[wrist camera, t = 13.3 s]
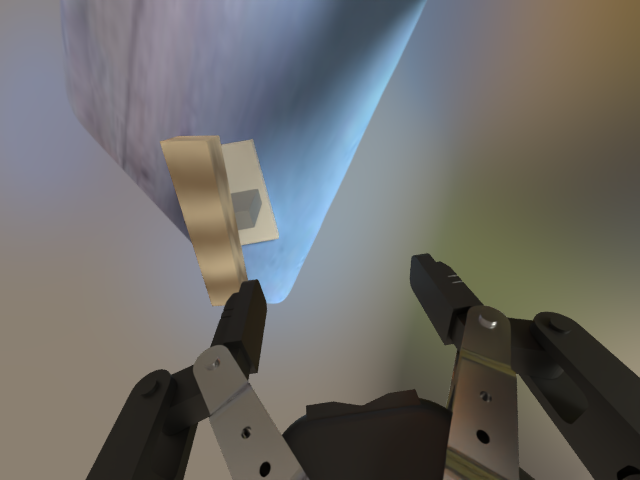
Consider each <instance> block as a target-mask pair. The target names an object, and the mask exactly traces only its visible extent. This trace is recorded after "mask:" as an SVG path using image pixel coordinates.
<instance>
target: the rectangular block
mask: <svg viewBox="0 0 640 480" xmlns="http://www.w3.org/2000/svg"><path fill="white" fill-rule="evenodd" d="M160 144H161V147H162V150H163V153H164V156H165V160H166V163H167V166H168V169H169V172H170V175H171V178H172V181H173V185H174V188H175V191H176V194H177V197H178V200H179V203H180V207H181V210H182V213H183V216H184V219H185V222H186V225H187V229H188V232H189V235H190V238H191V241H192V244H193V247H194V250H195V253H196V257H197V260H198V263H199V266H200V269H201V272H202V276H203V279H204V282H205V285H206V288H207V291H208V294H209V298H210V301H211V304H212V306H222V305H225V304H226V301H227V300H228V299H229V298H230V296H231V295H232V294H233V293H237V292H239V289H240V286H241V283H242V282H243V281H248V278H247V273H246V268H245V263H244V258H243V253H242V248H241V243H240V238H239V233H238V228H237V223H236V218H235V213H234V208H233V203H232V198H231V193H230V188H229V183H228V178H227V173H226V168H225V163H224V158H223V153H222V148H221V143H220V138H219V136H178V137H174V138H171V139H167V140H164V141H160Z"/></svg>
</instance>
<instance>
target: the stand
mask: <svg viewBox="0 0 640 480" xmlns="http://www.w3.org/2000/svg"><path fill="white" fill-rule="evenodd" d="M221 148H222V153H223V158H224V163H225V168H226V173H227V178H228V183H229V188H230V193H231V198H232V203H233V208H234V213H235V218H236V223H237V228H238V233H239V238H240V243H241V245H245V244H251V243H256V242H262V241H268V240H273V239H279V232H278V228H277V225H276V221H275V217H274V214H273V210H272V207H271V203H270V199H269V196H268V192H267V188H266V185H265V181H264V177H263V174H262V170H261V167H260V163H259V159H258V156H257V152H256V148H255V145H254V141H253V139H250V140H244V141H239V142H233V143H227V144H222V145H221ZM184 222H185V221H184ZM185 224H186V222H185ZM186 226H187V225H186Z"/></svg>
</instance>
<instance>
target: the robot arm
mask: <svg viewBox="0 0 640 480" xmlns="http://www.w3.org/2000/svg"><path fill="white" fill-rule="evenodd" d="M410 284H411V287H412V290H413V292H414V293H415V295H416V297H417V298H418V300H419V302H420V303H421V305H422V307H423V309H424V311H425V312H426V314H427V316H428V317H429V319H430V321H431V322H432V324H433V326H434V328H435V329H436V331H437V333H438V335H439V336H440V338H441V340H442V341H443V343H444V345H449V344H454V345H455V346H456V348H457V352H456V357H455V363H454V368H453V374H452V379H451V384H450V390H449V394H448V399H447V404H446V408H445V407H443V406H441V405H439V404H437V403H435V402H432V401H430V400H426V399H422V398H418V395H417V393H416V390H415V389H413V390H407V391H400V392H394V393H388V394H386V395H384V396H382V397H380V398H378V399H375V400H373V401H371V402H370V403H367V404H365V405H362V406H361V405H352V404H346V403H339V402H328V403H320V404H314V405H307V406H306V415H304V416H303V417H301V418H299V419H298V420H296V421H295V422H294V423H293V424H291V425H290V426H289V428H287V430H286V431H285V432H284V433H283V434H282V435H281V433H280V432H279V430H278V428H277V427H276V425H275V424H274V422H273V420H272V419H271V417H270V416H269V414H268V412H267V411H266V409H265V407H264V406H263V404H262V403H261V401H260V399H259V398H258V396H257V394H256V393H255V391H254V390H253V388H252V387H251V385H250V383H248V379H249V374H253V373H258V366H259V360H260V353H261V346H262V340H263V333H264V327H265V319H266V313H267V304H266V300H265V297H264V294H263V291H262V289H261V286H260V283H259V281H258V280H257V279H256V280H249V281H243V282H242V283H241V286H240V289H239V292H237V293H233V294H232V295H231V296H230V298H229V299H228V300H227V301H226V304H225V307H224V312H223V313H222V315H221V319H220V321H219V324H218V327H217V329H216V332H215V335H214V338H213V341H212V344H211V346H210V348H208V349H207V350H205V351H204V352H203V353H202V354H201V355H200V356H199V357H198V358H197V360H196V361H195V363H194V365H192V366H190V367H188V368H185V369H183V370H181V371H179V372H177V373H175V374H172V375H171V374H170V373H169V372H168V371H167V370H163V369H161V370H156V371H154V372H152V373H149V374H148V375H146V376H145V377H144V378H142V379H141V380H140V381H139V382H138V383H137V384H136V385H135V387H134V388H133V390H132V391H131V393H130V395H129V397H128V399H127V401H126V403H125V405H124V407H123V408H122V410H121V412H120V414H119V416H118V418H117V420H116V422H115V424H114V426H113V428H112V430H111V432H110V434H109V436H108V438H107V439H106V442H105V443H104V445H103V447H102V449H101V451H100V453H99V455H98V457H97V459H96V461H95V463H94V465H93V467H92V468H91V470H90V472H89V474H88V476H87V478H86V480H183V479H184V475H185V471H186V467H187V464H188V460H189V456H190V452H191V448H192V444H193V440H194V436H195V433H196V429H197V425H198V422H199V421H201V420H203V419H205V418H207V417H209V421H210V424H211V426H212V429H213V431H214V434H215V436H216V439H217V441H218V444H219V446H220V449H221V451H222V454H223V456H224V459H225V461H226V464H227V466H228V469H229V471H230V474H231V476H232V479H233V480H535V479H534V478H532V477H531V476H530V475H529V474H528V473H526V472H525V471H524V470H523V469H521V468H520V467H519V453H518V415H517V414H518V411H517V376H516V374H519V375H520V376H521V378H522V379H523V381H524V382H525V384H526V385H527V386H528V388H529V389H530V391H531V392H532V393H533V395H534V396H535V397H536V399H537V400H538V402H539V403H540V404H541V406H542V407H543V409H544V410H545V411H546V413H547V414H548V416H549V417H550V418H551V420H552V421H553V422H554V424H555V425H556V426H557V428H558V429H559V431H560V432H561V434H562V435H563V436H564V438H565V439H566V440H567V442H568V443H569V445H570V446H571V447H572V449H573V450H574V451H575V453H576V454H577V456H578V457H579V459H580V460H581V461H582V463H583V464H584V465H585V467H586V468H587V470H588V471H589V472H590V474H591V475H592V477H593V478H594V479H595V480H640V378H639V377H638V376H637V375H636V374H635V373H634V372H633V371H631V370H630V369H629V368H628V367H627V366H626V365H624V364H623V363H622V362H621V361H620V360H619V359H618V358H617V357H615V356H614V355H613V354H612V353H611V352H610V351H609V350H608V349H606V348H605V347H604V346H603V345H602V344H601V343H600V342H598V341H597V340H596V339H595V338H594V337H593V336H591V335H590V334H589V333H588V332H587V331H586V330H585V329H584V328H582V327H581V326H580V325H579V324H578V323H576V322H575V321H574V320H572V319H570V318H568V317H566V316H564V315H561V314H558V313H553V312H540V313H538V314H537V315H536V316H535V317H534V319H533V321H532V320H523V319H514V318H507V317H506V316H505V315H504V314H503V313H502V312H500V311H499V310H497V309H495V308H492V307H489V306H484V305H483V304H482V303H481V302H480V300H479V299H478V298H477V297H476V296H475V295H474V293H473V292H472V291H471V290H470V289H469V288H468V287H467V286H466V284H465V283H464V282H462V280H461V279H460V278H459V276H457V274H456V273H455V272H454V271H453V270H452V269H451V267H449V266H447V265H446V264H444V263H442V262H435V261H434V259H433V258H432V257H431V255H430V254H428V253H427V254H420V255H414V256H412V258H411V269H410Z"/></svg>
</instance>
